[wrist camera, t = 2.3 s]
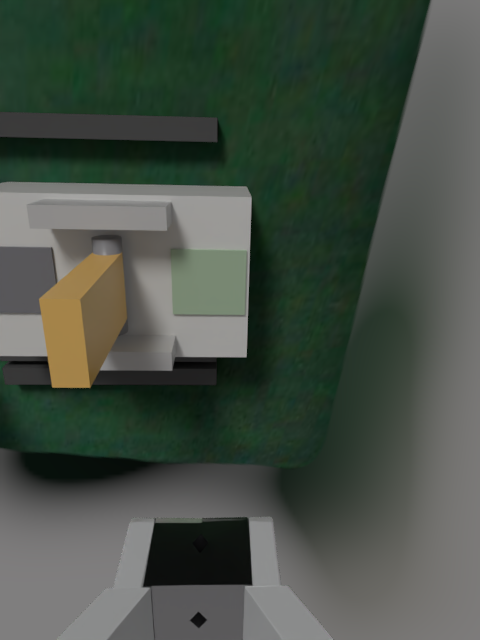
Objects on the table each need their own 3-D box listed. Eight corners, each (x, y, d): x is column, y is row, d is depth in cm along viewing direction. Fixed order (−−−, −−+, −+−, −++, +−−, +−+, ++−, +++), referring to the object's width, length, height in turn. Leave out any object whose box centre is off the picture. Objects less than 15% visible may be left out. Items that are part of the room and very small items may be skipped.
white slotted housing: (30, 320, 34) (-28, 374, 26) (7, 181, 30) (-67, 196, 23) (242, 322, 35) (248, 375, 27) (246, 186, 31) (254, 202, 23)
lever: (104, 325, 28) (54, 403, 20) (95, 234, 26) (35, 279, 18) (130, 326, 28) (92, 403, 20) (124, 235, 26) (77, 279, 18)
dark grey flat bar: (13, 375, 36) (5, 384, 34) (6, 336, 34) (-3, 343, 33) (216, 376, 36) (216, 385, 35) (216, 337, 35) (216, 345, 34)
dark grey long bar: (-32, 135, 29) (-43, 135, 28) (-36, 112, 29) (-48, 111, 27) (217, 141, 30) (217, 142, 29) (217, 118, 29) (217, 117, 28)
